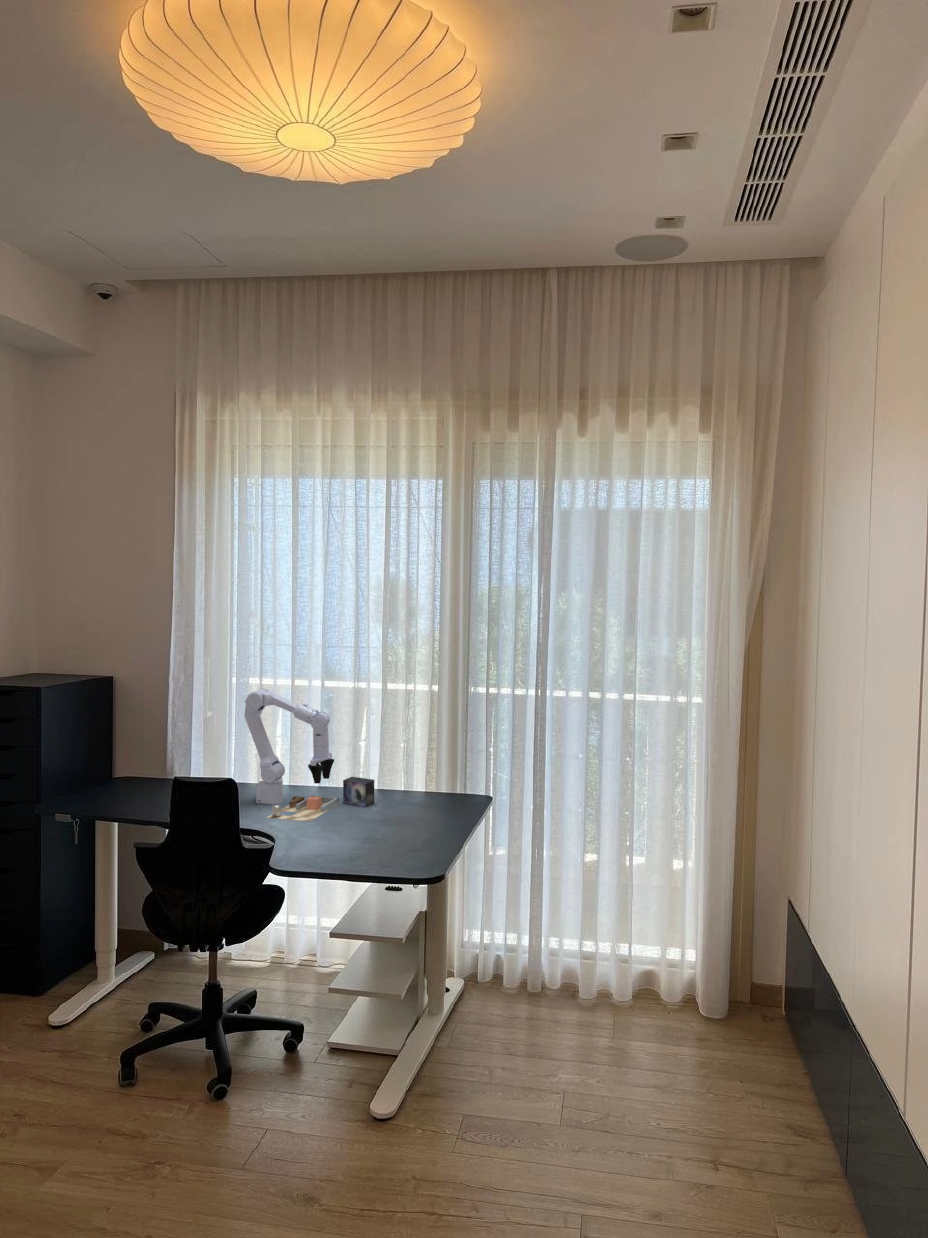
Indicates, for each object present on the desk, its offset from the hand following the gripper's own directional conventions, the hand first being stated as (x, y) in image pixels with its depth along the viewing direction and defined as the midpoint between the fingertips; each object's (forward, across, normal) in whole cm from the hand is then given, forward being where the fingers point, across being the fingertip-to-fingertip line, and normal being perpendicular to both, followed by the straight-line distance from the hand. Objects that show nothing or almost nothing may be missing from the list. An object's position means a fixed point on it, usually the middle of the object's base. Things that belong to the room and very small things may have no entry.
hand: (321, 780), depth 338 cm
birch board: (+10, -10, +3) cm, 14 cm away
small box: (+11, +4, -13) cm, 17 cm away
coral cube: (+9, -6, 0) cm, 11 cm away
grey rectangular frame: (+9, -4, 0) cm, 9 cm away
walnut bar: (+9, -4, +9) cm, 13 cm away
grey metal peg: (+9, -20, +8) cm, 24 cm away
